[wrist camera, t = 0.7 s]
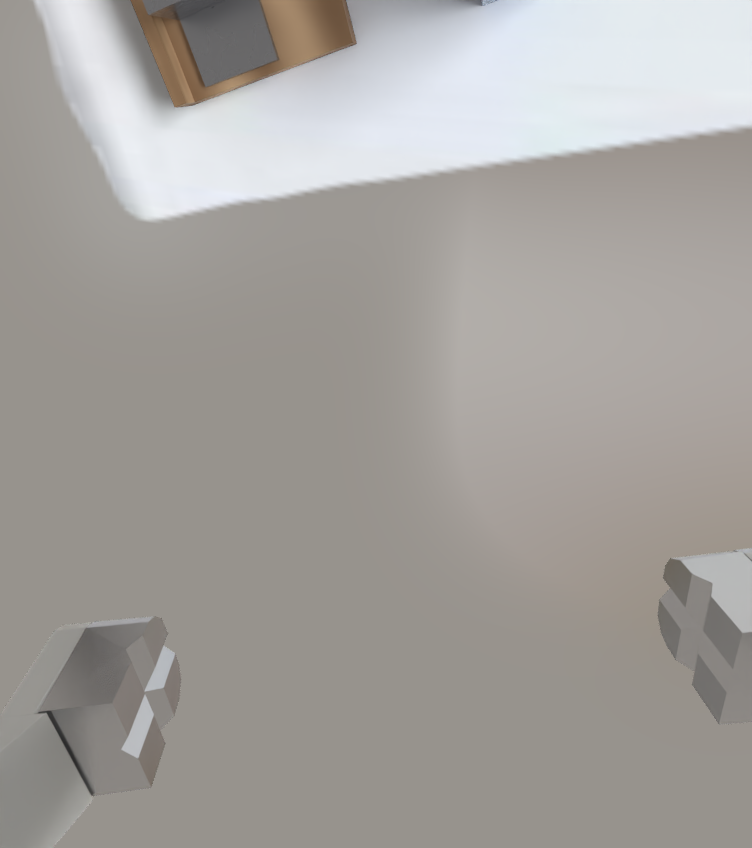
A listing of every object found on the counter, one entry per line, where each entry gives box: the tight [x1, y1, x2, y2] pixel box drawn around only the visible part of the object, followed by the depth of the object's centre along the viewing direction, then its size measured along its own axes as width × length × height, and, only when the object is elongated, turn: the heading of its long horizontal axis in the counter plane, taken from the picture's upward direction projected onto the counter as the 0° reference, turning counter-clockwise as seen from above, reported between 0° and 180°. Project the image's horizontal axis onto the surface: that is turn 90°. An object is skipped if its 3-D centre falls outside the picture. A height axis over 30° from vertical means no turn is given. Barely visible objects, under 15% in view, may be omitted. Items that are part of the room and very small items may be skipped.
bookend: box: [142, 0, 279, 87], centre depth 37 cm, size 6×5×5 cm
